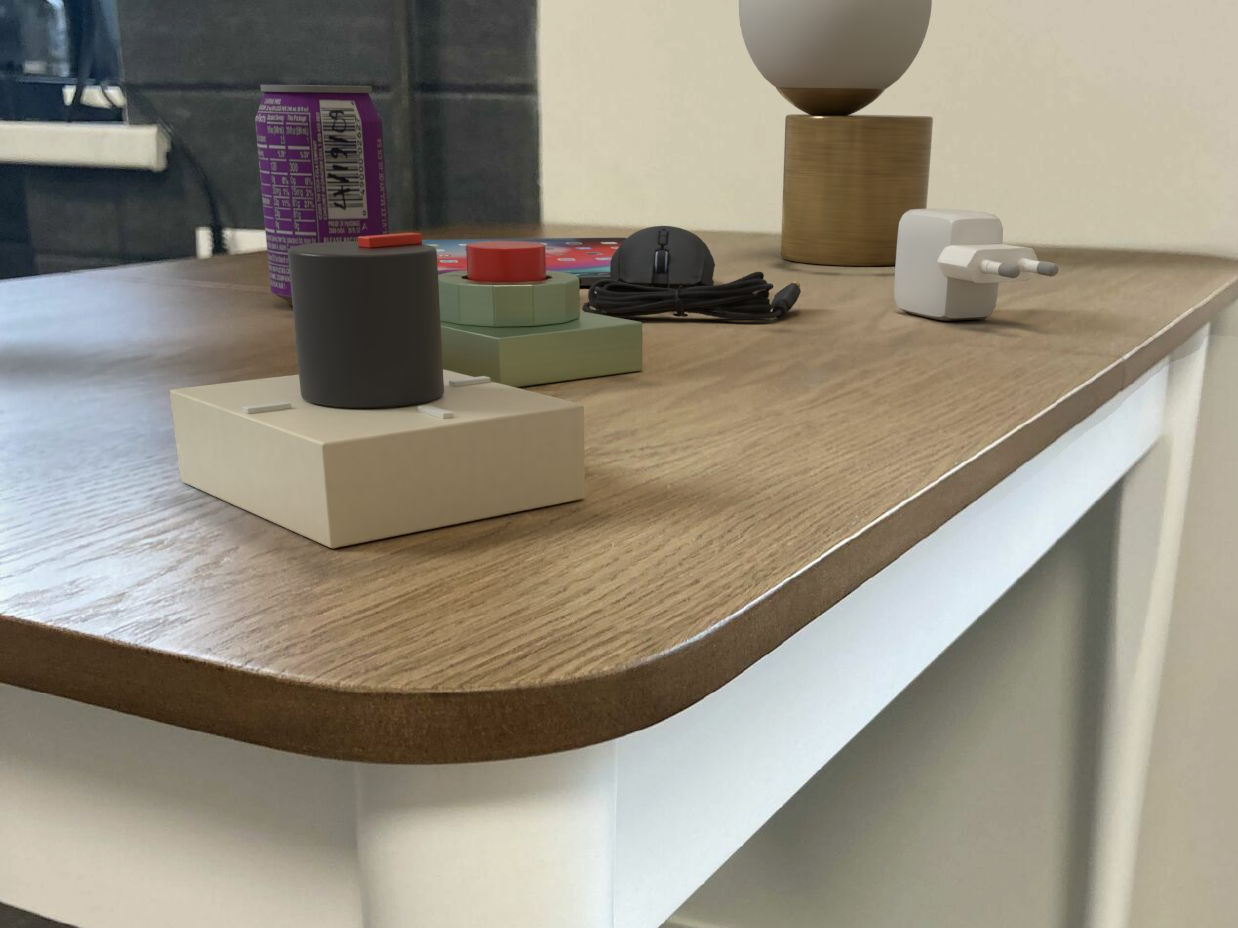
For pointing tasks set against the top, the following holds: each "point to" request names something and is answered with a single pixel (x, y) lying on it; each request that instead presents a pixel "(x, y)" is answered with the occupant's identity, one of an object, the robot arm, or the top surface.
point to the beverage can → (318, 170)
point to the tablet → (561, 255)
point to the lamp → (843, 122)
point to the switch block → (531, 332)
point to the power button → (506, 261)
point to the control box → (379, 456)
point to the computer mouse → (680, 281)
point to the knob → (367, 321)
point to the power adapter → (957, 263)
